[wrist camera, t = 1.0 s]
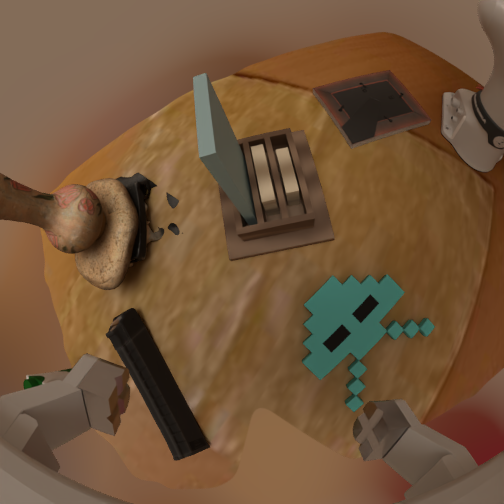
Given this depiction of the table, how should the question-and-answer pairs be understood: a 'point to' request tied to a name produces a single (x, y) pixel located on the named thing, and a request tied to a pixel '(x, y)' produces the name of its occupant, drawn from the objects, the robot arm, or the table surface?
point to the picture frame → (371, 107)
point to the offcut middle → (264, 180)
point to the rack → (278, 202)
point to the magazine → (156, 385)
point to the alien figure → (352, 326)
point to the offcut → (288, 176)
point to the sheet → (222, 149)
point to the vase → (90, 222)
